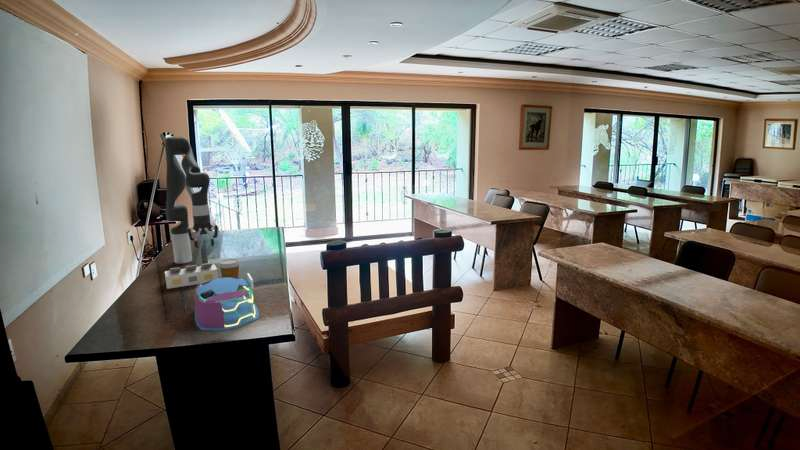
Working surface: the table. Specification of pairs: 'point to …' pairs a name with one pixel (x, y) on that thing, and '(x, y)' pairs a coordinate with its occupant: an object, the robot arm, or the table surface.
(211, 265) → the rocker
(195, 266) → the block
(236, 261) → the disposable coffee cup
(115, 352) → the table surface
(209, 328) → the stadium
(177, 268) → the rocker
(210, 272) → the console
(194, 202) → the robot arm
